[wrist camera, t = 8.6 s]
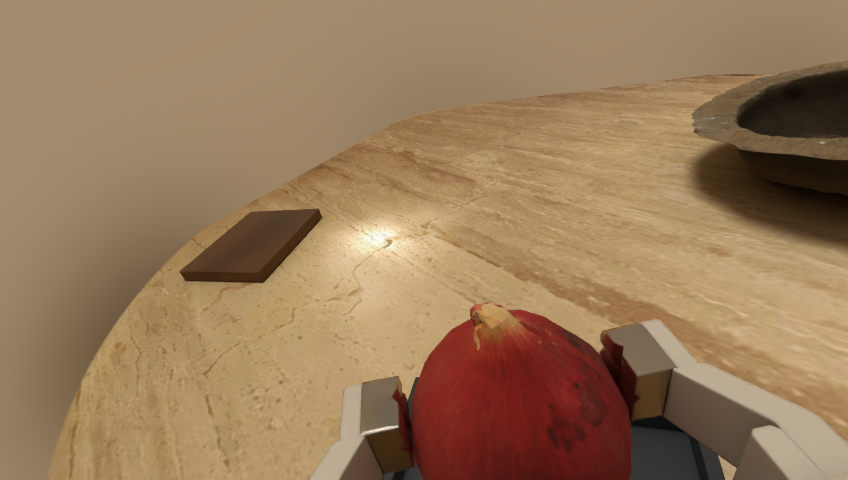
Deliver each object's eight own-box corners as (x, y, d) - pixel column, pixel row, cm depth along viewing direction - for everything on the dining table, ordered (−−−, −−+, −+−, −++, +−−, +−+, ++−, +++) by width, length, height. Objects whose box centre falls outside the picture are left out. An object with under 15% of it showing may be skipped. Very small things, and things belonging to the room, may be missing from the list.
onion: (578, 399, 16) (580, 220, 11) (663, 587, 11) (721, 393, 6) (430, 425, 16) (378, 260, 12) (445, 619, 11) (366, 455, 7)
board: (184, 280, 42) (178, 271, 41) (254, 219, 51) (250, 211, 51) (263, 282, 38) (257, 272, 38) (322, 217, 48) (318, 208, 47)
